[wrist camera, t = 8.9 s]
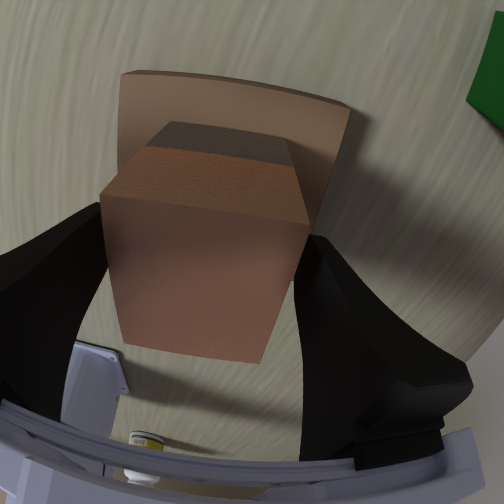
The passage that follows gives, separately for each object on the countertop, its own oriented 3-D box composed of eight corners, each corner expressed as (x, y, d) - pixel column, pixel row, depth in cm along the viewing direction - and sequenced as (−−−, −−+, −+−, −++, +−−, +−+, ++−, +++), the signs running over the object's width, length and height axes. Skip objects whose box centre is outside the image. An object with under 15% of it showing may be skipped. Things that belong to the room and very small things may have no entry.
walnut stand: (290, 259, 19) (293, 281, 18) (132, 234, 18) (122, 254, 17) (339, 101, 13) (351, 109, 12) (136, 70, 12) (120, 74, 11)
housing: (284, 137, 13) (310, 225, 7) (258, 247, 16) (259, 364, 11) (170, 120, 12) (99, 194, 6) (164, 233, 16) (123, 343, 10)
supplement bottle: (156, 443, 47) (149, 495, 38) (126, 433, 45) (116, 487, 36) (170, 439, 44) (163, 496, 35) (137, 428, 42) (127, 488, 33)
